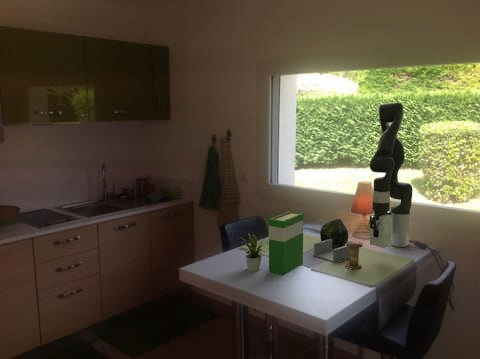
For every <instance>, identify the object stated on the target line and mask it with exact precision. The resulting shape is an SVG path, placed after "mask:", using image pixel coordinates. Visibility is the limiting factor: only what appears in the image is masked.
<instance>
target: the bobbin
mask: <svg viewBox="0 0 480 359" xmlns="http://www.w3.org/2000/svg"><path fill="white" fill-rule="evenodd" d="M345 246H348V247H350V257H349V259H348V260H349V261H348V262H346V263H345V267H346V268H347V267H348V268H347V269H349V268H352V269H351V270H360V269H359V268H361V267H362V268H363V265H362V263H360V262H359V253H360V248H363V246H364V245H363V242H361V241H357V240H349V241H347V243H346V244H345ZM362 268H361V269H362Z"/></svg>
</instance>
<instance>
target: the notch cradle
mask: <svg viewBox="0 0 480 359" xmlns="http://www.w3.org/2000/svg"><path fill="white" fill-rule="evenodd" d="M313 244H314V245H313V256H314V257H316V258H319V259H322V260H325V261H329V262H331V261H332V262H331V263H333V262H335V263H334V264H337V263H336V262H338V263H340V262H339V261H341V262H343V261H342V260H344V261H346V260H345V259H347V260H349V259H348V258H349V257H350V247H348V246H347V245H343V246H339V247H337V248H334V249H333V246H332V239H328V240H325V241H321V240H320V241H318V242H315V243H313Z"/></svg>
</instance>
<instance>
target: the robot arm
mask: <svg viewBox="0 0 480 359" xmlns="http://www.w3.org/2000/svg"><path fill="white" fill-rule="evenodd" d="M404 115H405V113H404V105H403V103H401V102H391V103H389V102H388V103H383V104H382V103H381V104H380V105H379V106H378V118H379V124H380V128H381V133H382V134H381V135H380V137H379V139H378V143H377V149H376V151H375V153H374V154H373V156H372V157H371V160H370V162H369V169H370V170H371V172H373V173H380V174H381V173H383V174H384V173H385V175H383V176H380V177H375V178H374V179H373V192H372V206H371V208H372V211H373V214H374V216H370V218H369V229H370V228H371V229H373V236H374V237H376V238H378V236H379V230H378V229H379V225H380V222H379V223H376V220H379V216H382V215H385V214H387V215H391V247H399V248H404V247H408V246H409V245H410V244H409V243H410V213H411V208H412V202H413V201H412V200H413V199H412V198H413V191H414V190H413V186H412V184H411V183H409V182H402V181H399V176H398V175H399V174H398V173H399V171H400V169H401V167H402V166H403V164H404V163H405V160H406V159H405V158H406V155H405V148H404V145H403V143H402V141H401V140H400V139H399V138H398V137H397V135H398V133H399V130H400V128H401V125H402V121H403V119H404ZM390 123H391V124H390ZM391 199H393V200H399V201H400V204H397V205H394V206H391ZM390 206H391V207H390ZM372 224H373V225H372ZM376 224H377V227H376Z"/></svg>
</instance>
